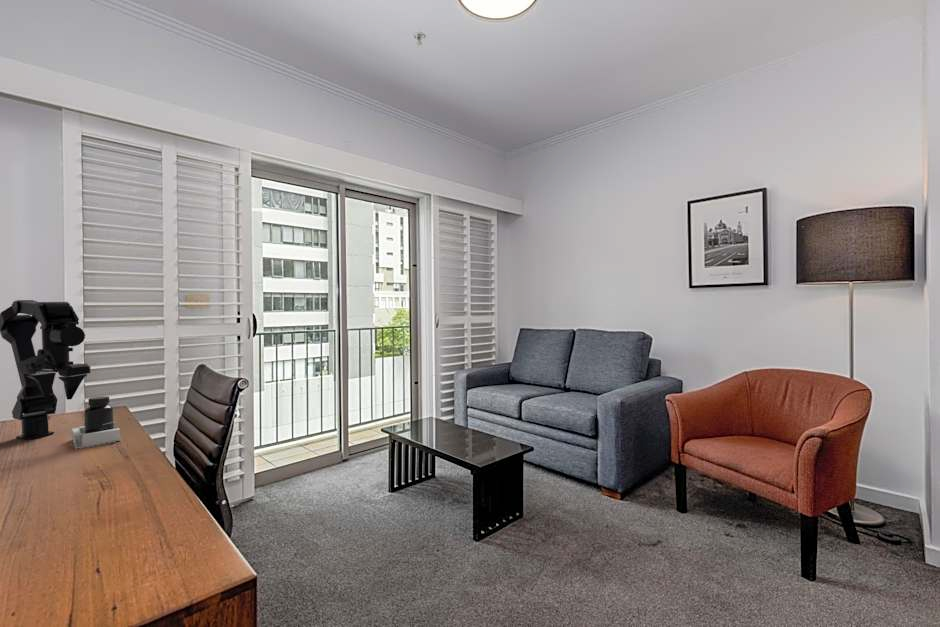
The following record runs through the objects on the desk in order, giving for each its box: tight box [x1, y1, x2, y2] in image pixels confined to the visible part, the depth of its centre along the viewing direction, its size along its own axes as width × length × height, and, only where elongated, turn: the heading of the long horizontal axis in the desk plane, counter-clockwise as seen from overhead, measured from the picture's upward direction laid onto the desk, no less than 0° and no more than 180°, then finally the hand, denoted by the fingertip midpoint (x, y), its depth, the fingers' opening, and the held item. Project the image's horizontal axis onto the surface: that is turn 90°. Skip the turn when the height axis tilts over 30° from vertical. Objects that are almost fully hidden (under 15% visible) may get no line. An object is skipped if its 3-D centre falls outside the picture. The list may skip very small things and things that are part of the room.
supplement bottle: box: [83, 395, 115, 434], centre depth 136 cm, size 7×7×12 cm
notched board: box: [71, 421, 121, 450], centre depth 135 cm, size 10×12×4 cm
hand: (57, 398), depth 133 cm, fingers open, 9 cm apart
